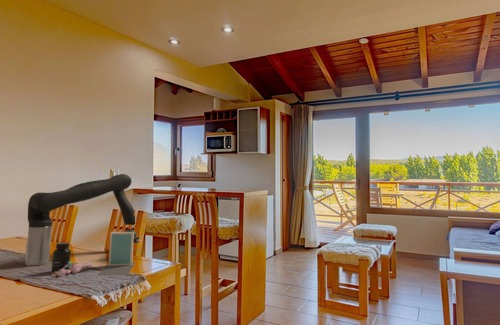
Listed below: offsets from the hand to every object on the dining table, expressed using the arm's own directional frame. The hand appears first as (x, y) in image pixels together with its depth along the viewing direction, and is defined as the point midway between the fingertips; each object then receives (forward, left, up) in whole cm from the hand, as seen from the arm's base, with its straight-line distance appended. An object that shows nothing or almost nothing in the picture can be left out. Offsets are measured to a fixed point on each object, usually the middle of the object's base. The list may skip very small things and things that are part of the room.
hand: (124, 243), depth 154 cm
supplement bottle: (-27, 0, -10) cm, 28 cm away
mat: (-7, -11, -10) cm, 16 cm away
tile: (-3, -6, -9) cm, 11 cm away
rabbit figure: (-24, -7, -10) cm, 27 cm away
